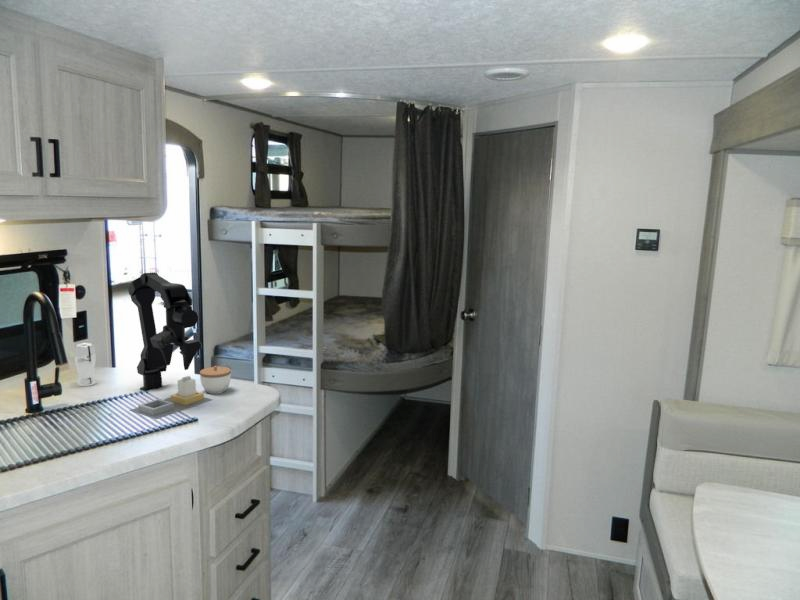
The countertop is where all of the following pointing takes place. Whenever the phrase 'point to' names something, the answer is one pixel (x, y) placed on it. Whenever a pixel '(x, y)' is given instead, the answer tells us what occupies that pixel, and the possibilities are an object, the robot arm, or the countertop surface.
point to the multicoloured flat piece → (169, 405)
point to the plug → (186, 387)
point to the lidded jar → (215, 379)
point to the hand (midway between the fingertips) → (177, 367)
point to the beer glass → (85, 363)
